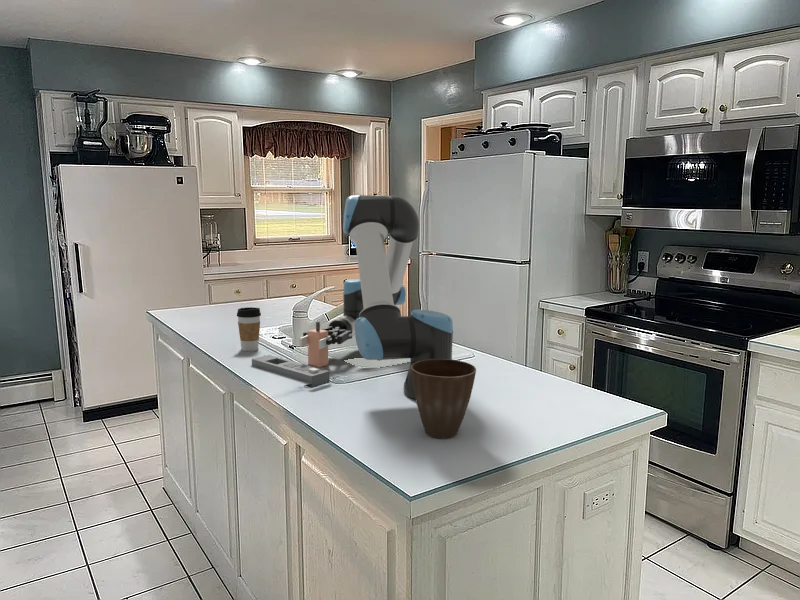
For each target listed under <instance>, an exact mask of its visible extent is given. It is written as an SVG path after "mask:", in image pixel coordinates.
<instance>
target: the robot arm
mask: <svg viewBox="0 0 800 600" xmlns="http://www.w3.org/2000/svg"><path fill="white" fill-rule="evenodd" d="M344 204H345V205H344V210H343V211H344V212H343V223H342V231H343V234H346V235H349V240H350V241H351V242H352V243H353V244H355V251H356V258H357V266H358V273H359V279H357V278H356V279H355V278H353V279H346V280H345V281H344V282H343V292H342V295H343V297H342V298H343V316H341V317H339V318H336V319H334V320H332V321H331V322H330V323H329V324H328V326H327V327H324V328H321V330H326V331H328V336H327V337H325V338H323V339H321V340H319V349H322V348H324V347H326V346H328V347H329V346H330V345H336V343H337V345H342V344H343V343H345V342H347V341H348V340H350V339H351V340H352V339H353V336H355V342H356V346H357V350H358V351H359V355H360V356H361V357H362V358H363V359H364V360H367V361H382V360H384V361H386V360H403V359H410V365H409V369H408V371H407V375H406V378H405V379H404V380H405V381H404V383H403V394H404V395H405V396H406V397H408V398H411V399H413V400H414V399H415V400H416V397H415V392H414V386H413V378H412V370H411V366H412V364H414V363H415V362H418V361H422V360H429V359H450V360H453V337H454V326H453V318H452V317H451V316H449V315H448V314H447V313H443V312H439V311H433V310H428V309H413V310H411V313H410V315H409V316H407V315H403V316H402V314H401V312H402V311H401V309H400V307H398V306H401V305H404V304H405V302H406V288H405V286H404V284H403V283H404V277H405V275H406V274H405V273H406V270H407V265H408V262H409V258H410V254H411V251H412V247H413V243H414V242H416V240H417V239H418V237H419V232H420V221H419V220H420V219H419V215H418V213H417V212H416V211H417V210H416V209H415V207H414V206H413V205H412V204H411V203H410V202H409V201H408V200H406V199H405V198H403V197H401V196H398V195H365V194H364V195H362V194H357V195H349V196H347V197H346V199H345V203H344ZM388 235H389V241H388V247H387V250H386V244H385V239H386V238H387V237H388ZM313 329H316V327H315V328H313ZM313 329H311V330H313ZM306 345H307V346H308V330H307V331H304V332H303V333H302V336H301V337H299V347H301V348H302V347H305V346H306Z"/></svg>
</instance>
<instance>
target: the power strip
mask: <svg viewBox="0 0 800 600" xmlns="http://www.w3.org/2000/svg"><path fill="white" fill-rule="evenodd" d="M251 366H253V367H256V368H259V369H264V370H267V371H269V372H274V373H277V374H280V375H283V376H286V377H289V378H293V379H296V380H300V381H304V382H307V384H304V385H303V386H305V387H307V388H311V389H313V388H315V387H320V386H323V385H326V383H327V384H329V383H330V371H329V370H327V369H323V368H321V367H316V366H313V365H309V364H305V363H300V362H296V361H293V360H290V359H287V358H282V357H279V356H275V355H272V354H267V355H263V356H258V357H255V358H251Z"/></svg>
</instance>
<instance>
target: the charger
mask: <svg viewBox="0 0 800 600" xmlns="http://www.w3.org/2000/svg"><path fill="white" fill-rule="evenodd" d="M315 328H316V329H315ZM315 328H313V330H312V329H310V330H307V331H308V344H307V350H308V351H307V365H309V366H312V367H316V368H321V367H325V366H328V365H329V345H328V346H326V347H324V348H322V349H319V340H321V339H323V338H325V337H327V336H328V331H326V330H322V328H321V322H320V321H319V320H318V321H316V322H315Z"/></svg>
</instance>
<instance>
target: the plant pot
mask: <svg viewBox="0 0 800 600" xmlns="http://www.w3.org/2000/svg"><path fill="white" fill-rule="evenodd" d="M411 370H412V378H413V386H414V392H415V397H416V399H415V401H416V407H417V409H418V413H419V417H420V420H421V424H422V426H423V429H424V432H425V434H426V435H427V436H428V437H430V438H434V439H440V440H441V439H443V440H445V439H451V438H454V437H456V436H457V434H458V432H459V430H460V428H461V425H462V423H463V420H464V417H465V415H466V413H467V409H468V406H469V404H470V399H471V396H472V392H473V388H474V383H475V378H476V373H477V368H476V367H475V365H473V364H471V363H470V362H465V361H462V360H456V359H452V360H450V359H429V360H422V361H418V362H415V363H414V364H412V366H411Z"/></svg>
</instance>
